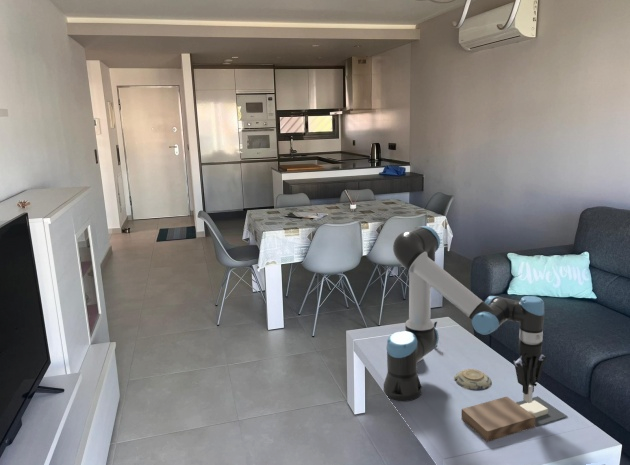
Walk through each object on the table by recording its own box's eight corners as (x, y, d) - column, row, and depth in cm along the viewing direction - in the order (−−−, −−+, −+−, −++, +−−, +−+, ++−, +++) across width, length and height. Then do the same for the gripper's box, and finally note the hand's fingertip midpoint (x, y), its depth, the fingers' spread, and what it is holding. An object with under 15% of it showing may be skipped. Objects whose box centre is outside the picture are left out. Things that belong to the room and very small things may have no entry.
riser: (487, 441, 160) (487, 431, 159) (461, 418, 173) (461, 409, 172) (534, 427, 166) (535, 416, 165) (506, 406, 179) (507, 396, 178)
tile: (528, 420, 169) (528, 415, 169) (515, 411, 175) (515, 406, 174) (547, 413, 173) (547, 408, 172) (534, 405, 178) (534, 400, 178)
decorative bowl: (500, 386, 193) (476, 369, 207) (500, 378, 192) (476, 361, 206) (468, 395, 188) (446, 376, 202) (468, 387, 188) (446, 369, 202)
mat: (536, 426, 166) (536, 425, 166) (507, 405, 179) (507, 404, 179) (567, 417, 171) (567, 416, 170) (537, 397, 184) (537, 396, 183)
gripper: (523, 348, 162) (520, 410, 167) (553, 341, 166) (550, 402, 171) (507, 339, 169) (505, 399, 174) (537, 332, 173) (534, 391, 178)
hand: (527, 400), depth 172 cm, fingers closed
